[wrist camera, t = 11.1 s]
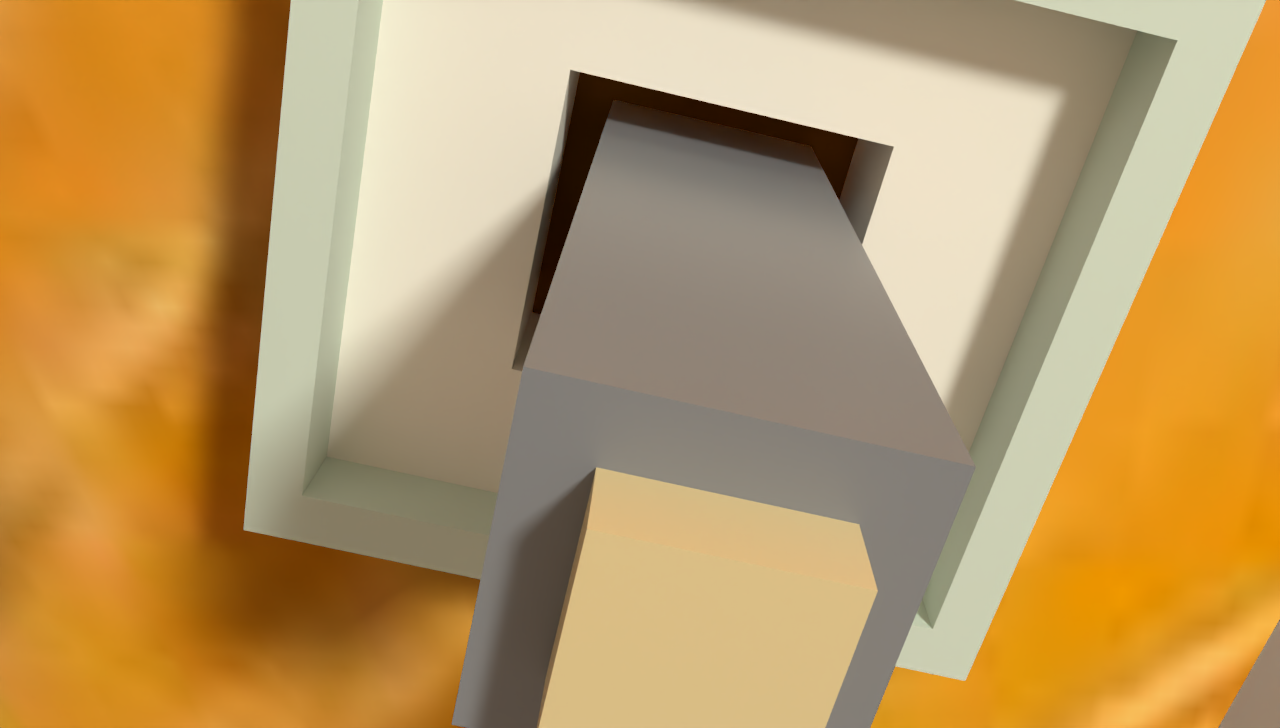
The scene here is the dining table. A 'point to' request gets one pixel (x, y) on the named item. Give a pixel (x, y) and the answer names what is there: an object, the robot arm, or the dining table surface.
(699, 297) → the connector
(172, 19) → the dining table surface
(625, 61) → the walled box
